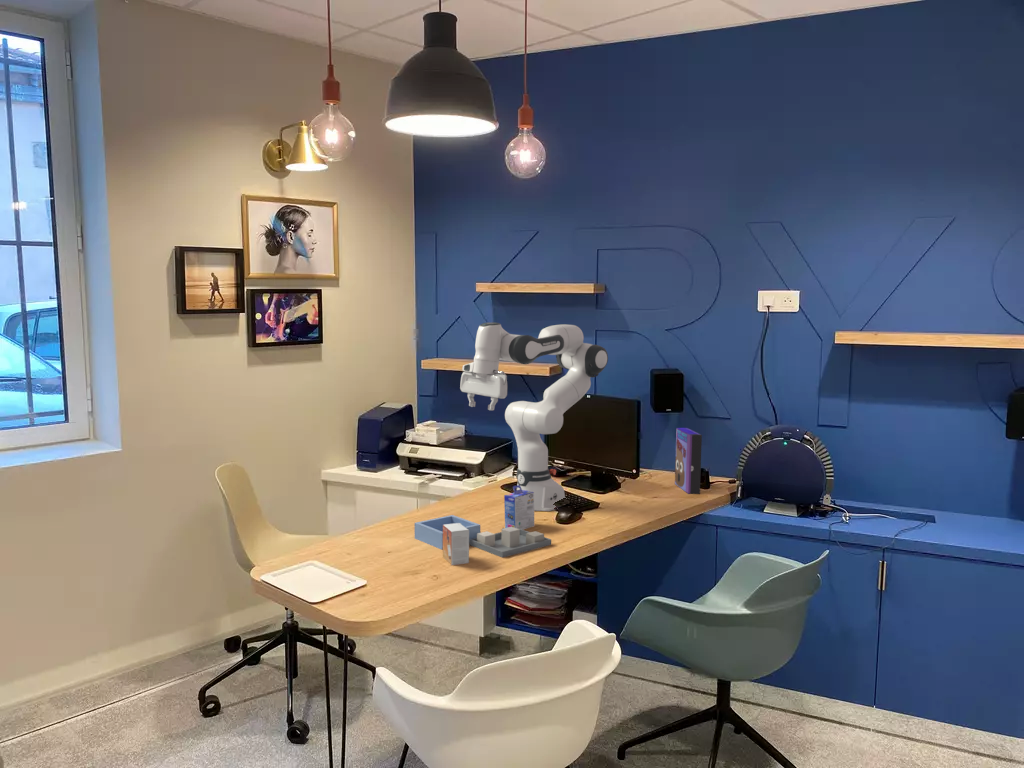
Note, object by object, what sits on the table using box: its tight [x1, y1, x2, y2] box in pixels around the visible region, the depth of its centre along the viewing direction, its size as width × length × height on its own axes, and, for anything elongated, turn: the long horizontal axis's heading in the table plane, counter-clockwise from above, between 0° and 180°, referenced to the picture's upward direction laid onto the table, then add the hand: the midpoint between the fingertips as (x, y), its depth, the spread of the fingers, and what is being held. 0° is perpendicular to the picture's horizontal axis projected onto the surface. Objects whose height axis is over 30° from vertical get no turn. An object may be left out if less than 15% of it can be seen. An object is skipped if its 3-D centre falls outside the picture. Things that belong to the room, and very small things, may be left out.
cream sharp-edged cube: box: [477, 531, 495, 546], centre depth 253 cm, size 4×4×4 cm
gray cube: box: [526, 530, 545, 545], centre depth 253 cm, size 4×4×4 cm
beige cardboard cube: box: [501, 527, 520, 547], centre depth 253 cm, size 4×4×5 cm
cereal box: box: [674, 427, 703, 495], centre depth 330 cm, size 17×5×24 cm, turn 6°
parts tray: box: [469, 528, 552, 559], centre depth 253 cm, size 20×16×2 cm
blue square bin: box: [414, 514, 481, 551], centre depth 258 cm, size 15×15×6 cm
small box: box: [442, 523, 470, 567], centre depth 238 cm, size 8×6×10 cm
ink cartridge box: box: [503, 485, 535, 530], centre depth 272 cm, size 10×6×14 cm, turn 137°
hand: (481, 408), depth 281 cm, fingers open, 8 cm apart
